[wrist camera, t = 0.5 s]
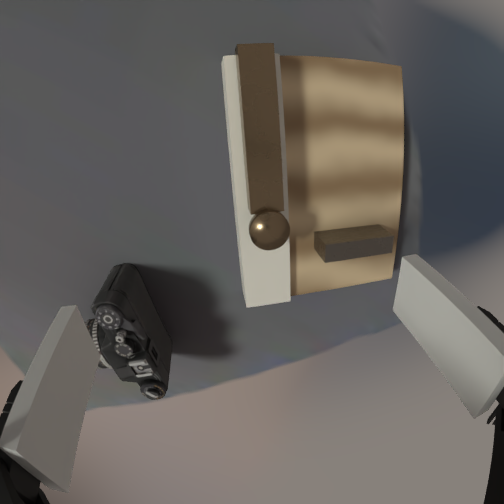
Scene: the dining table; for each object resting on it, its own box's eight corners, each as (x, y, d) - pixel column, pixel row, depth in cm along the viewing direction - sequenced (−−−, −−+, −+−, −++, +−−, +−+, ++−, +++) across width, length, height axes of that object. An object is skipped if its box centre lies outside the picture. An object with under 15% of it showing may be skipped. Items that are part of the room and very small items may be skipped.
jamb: (221, 63, 26) (224, 51, 21) (270, 60, 27) (284, 49, 22) (242, 288, 38) (248, 317, 33) (282, 283, 38) (294, 310, 33)
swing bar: (283, 236, 31) (290, 247, 28) (247, 240, 30) (251, 252, 28) (272, 48, 23) (279, 41, 20) (231, 49, 22) (234, 42, 20)
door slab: (270, 60, 27) (276, 55, 24) (387, 68, 28) (401, 66, 26) (282, 283, 38) (288, 296, 36) (380, 267, 40) (391, 277, 37)
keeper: (314, 231, 32) (325, 244, 29) (378, 224, 33) (394, 235, 30) (313, 248, 33) (324, 262, 30) (377, 240, 34) (391, 252, 31)
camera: (65, 280, 34) (35, 328, 25) (137, 257, 34) (118, 306, 25) (114, 360, 40) (102, 412, 31) (181, 345, 40) (178, 401, 32)
